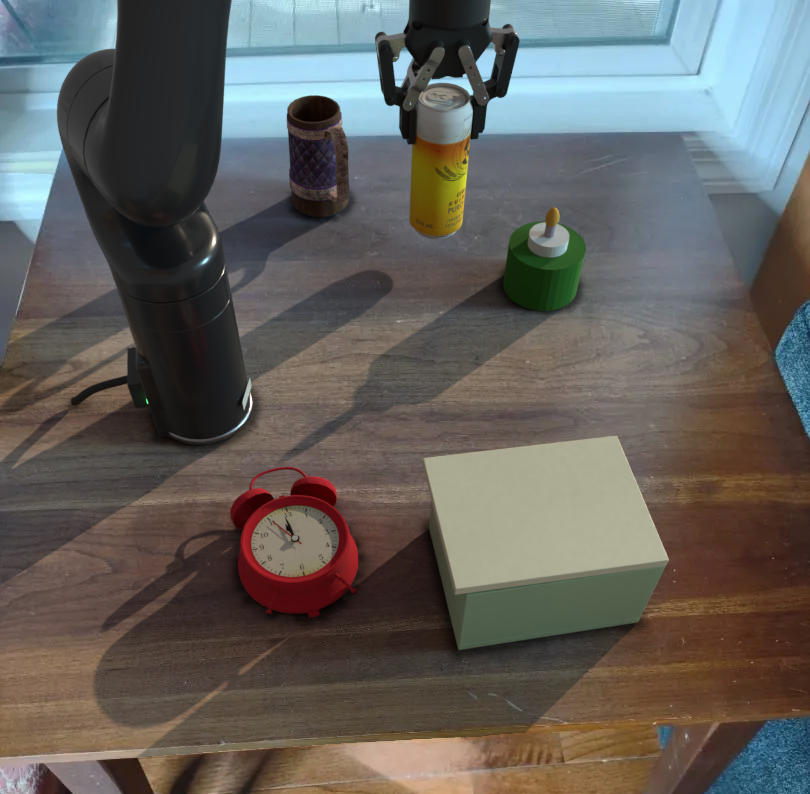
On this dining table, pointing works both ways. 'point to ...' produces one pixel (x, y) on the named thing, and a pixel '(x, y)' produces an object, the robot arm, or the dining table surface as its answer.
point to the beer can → (440, 160)
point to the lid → (540, 514)
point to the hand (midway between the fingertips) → (441, 137)
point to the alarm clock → (294, 546)
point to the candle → (544, 264)
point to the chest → (543, 604)
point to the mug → (317, 156)
